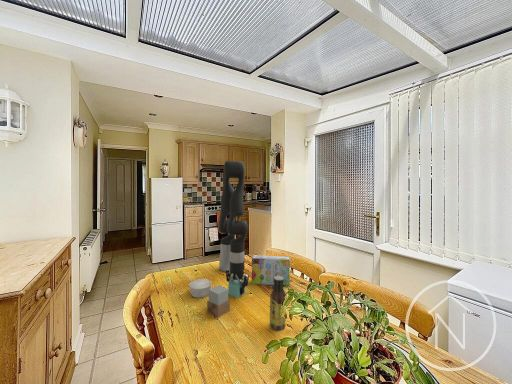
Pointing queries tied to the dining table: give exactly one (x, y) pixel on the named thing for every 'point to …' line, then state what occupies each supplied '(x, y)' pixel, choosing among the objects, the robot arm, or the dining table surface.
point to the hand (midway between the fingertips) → (236, 292)
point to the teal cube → (234, 289)
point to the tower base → (218, 308)
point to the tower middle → (218, 295)
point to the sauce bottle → (277, 304)
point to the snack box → (270, 269)
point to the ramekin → (200, 287)
